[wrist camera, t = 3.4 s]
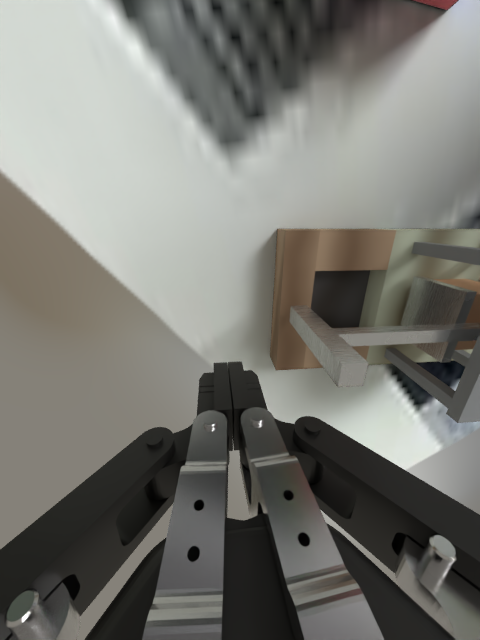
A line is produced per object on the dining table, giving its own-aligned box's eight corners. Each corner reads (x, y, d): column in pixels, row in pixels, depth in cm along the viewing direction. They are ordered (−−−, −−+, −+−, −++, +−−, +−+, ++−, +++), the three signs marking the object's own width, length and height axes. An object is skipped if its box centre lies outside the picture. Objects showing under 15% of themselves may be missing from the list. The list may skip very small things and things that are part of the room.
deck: (567, 228, 27) (608, 230, 24) (512, 343, 32) (540, 355, 29) (277, 228, 24) (285, 230, 21) (270, 355, 29) (275, 370, 26)
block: (465, 278, 24) (524, 292, 20) (449, 325, 26) (499, 347, 22) (418, 279, 24) (467, 294, 19) (405, 326, 26) (446, 350, 21)
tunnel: (495, 235, 23) (655, 246, 15) (449, 356, 28) (549, 415, 20) (415, 236, 22) (536, 247, 14) (383, 360, 27) (457, 422, 19)
